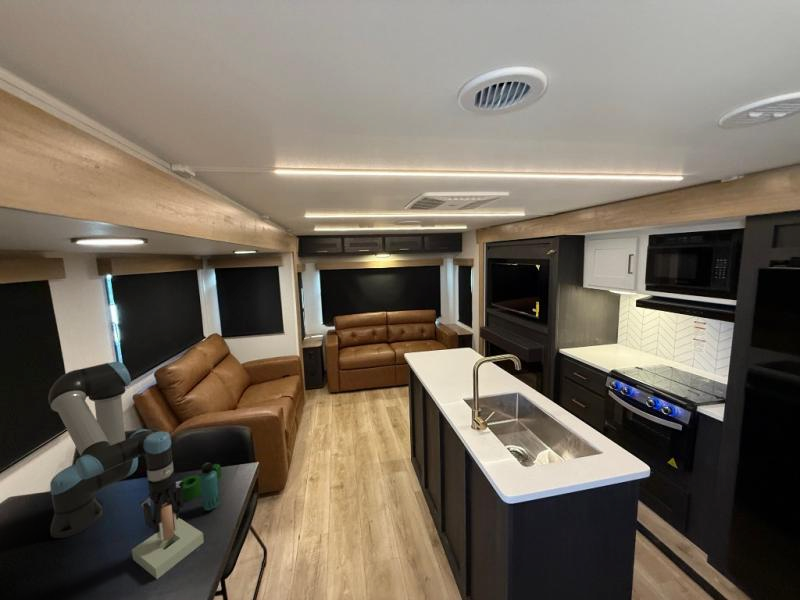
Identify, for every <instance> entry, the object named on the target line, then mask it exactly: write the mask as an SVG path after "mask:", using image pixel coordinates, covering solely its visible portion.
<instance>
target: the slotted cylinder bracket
mask: <svg viewBox="0 0 800 600" xmlns="http://www.w3.org/2000/svg"><path fill="white" fill-rule="evenodd" d="M206 464H212V463H211V462H205V463H204V464H202V466H201V469H200V470H201V475H199V474H192V475H188V476H186V477H185V478H182V479H180V480H181V481H182V482H184V485H183V502H188V501H192V500H194V499H196V498H198V497H199V496H200V495H202V490H201V480H200V477H201V476H202V474H203V472H202V470H203V466H204V465H206ZM213 468H214V469H213V471H216V472H217V480H218V479H220V478H221V477H222V467H221V464H219V463H214V464H213Z"/></svg>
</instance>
